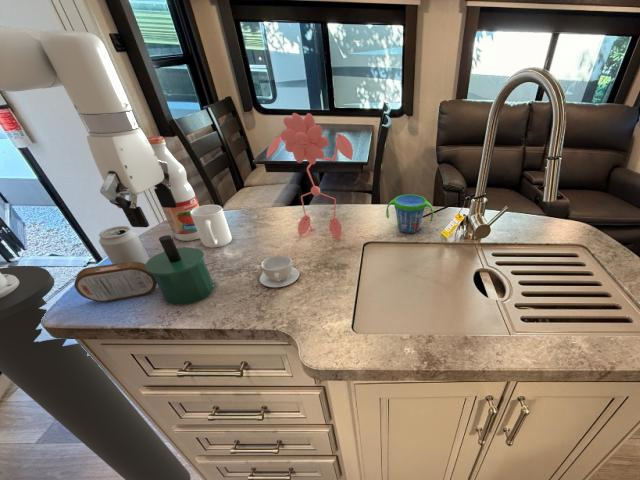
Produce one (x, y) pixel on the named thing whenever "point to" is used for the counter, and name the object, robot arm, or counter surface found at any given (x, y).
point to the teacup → (278, 271)
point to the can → (122, 245)
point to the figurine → (310, 156)
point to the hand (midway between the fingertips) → (156, 216)
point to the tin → (114, 281)
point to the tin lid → (173, 259)
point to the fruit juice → (177, 193)
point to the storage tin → (186, 285)
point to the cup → (211, 225)
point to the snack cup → (409, 212)
